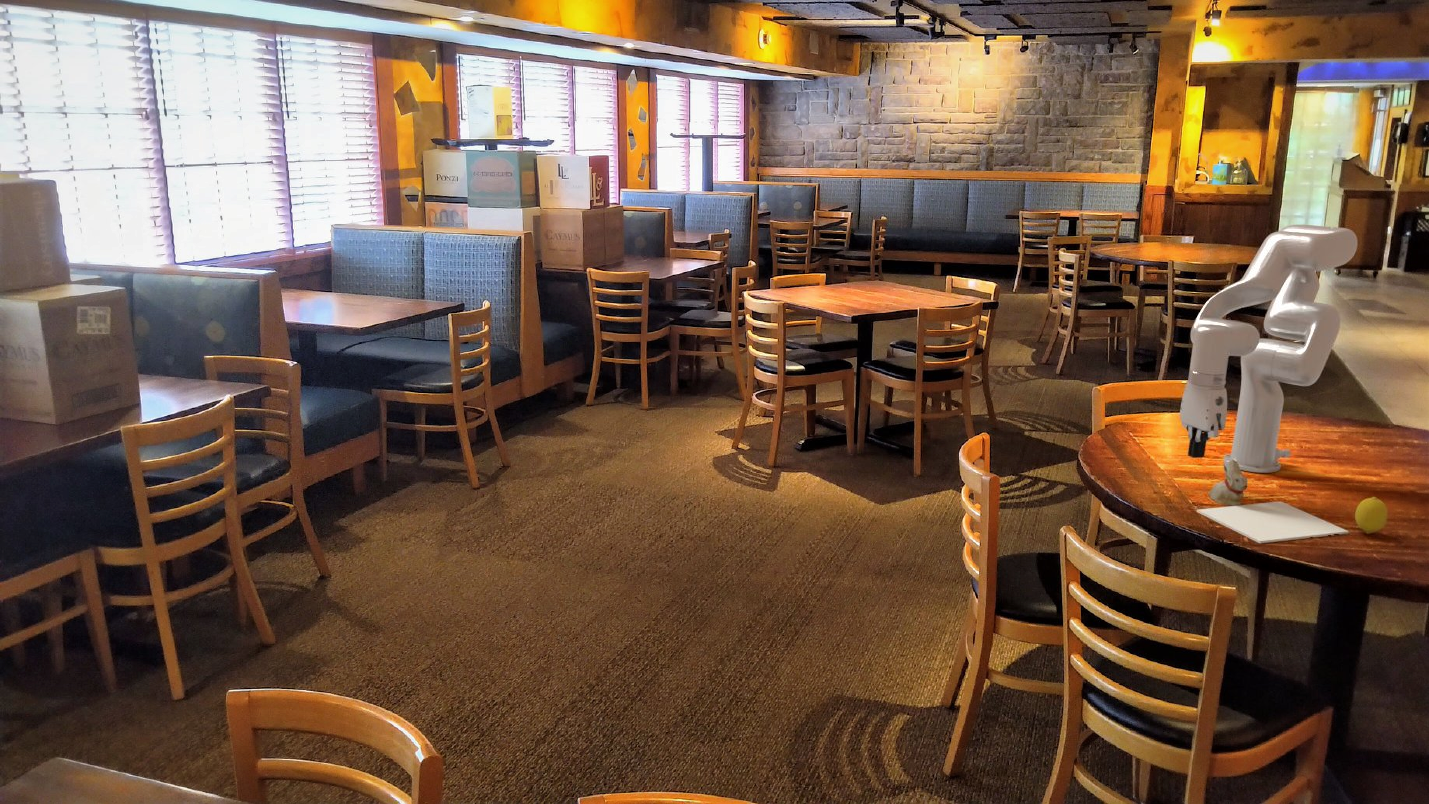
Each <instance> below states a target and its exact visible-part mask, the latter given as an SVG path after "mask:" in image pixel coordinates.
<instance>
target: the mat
mask: <svg viewBox="0 0 1429 804" xmlns="http://www.w3.org/2000/svg"><path fill="white" fill-rule="evenodd" d="M1196 513H1198V514H1200V515H1202V516H1205V517H1206V518H1208V519H1210V520H1212V521H1214V522H1216V523H1218V524H1220V525H1221V526H1224V527H1225V528H1228V529H1230V530H1232V531H1234V532H1236V533H1238V534H1240V535H1242V536H1244V537H1247V538H1248V539H1250V540H1252V541H1253V542H1256V543H1258V544H1266V543H1274V542H1275V543H1276V542H1284V541H1286V542H1287V541H1292V540H1302V539H1310V537H1313V538H1319V537H1329V536H1328V535H1331V536H1335V535H1334V534H1339V535H1347V534H1349V530H1347V529H1344V528H1342V527H1340V526H1337V525H1335V524H1333V523H1331V522H1329V521H1327V520H1324V519H1322V518H1319V517H1317V516H1315V515H1312V514H1310V513H1308V512H1305V511H1304V510H1302V509H1299V508H1297V507H1294V506H1292V505H1290V504H1287V503H1285V502H1283V501H1271V502H1261V503H1252V504H1241V505H1239V506H1222V507H1212V508H1211V507H1210V508H1203V509H1202V508H1201V509H1196Z"/></svg>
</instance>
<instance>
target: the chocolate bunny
mask: <svg viewBox="0 0 1429 804" xmlns="http://www.w3.org/2000/svg"><path fill="white" fill-rule="evenodd" d="M1223 471H1224V474H1225V479H1224V480H1223V481H1220V482H1217V483H1215V484H1214V485H1213V486H1212V488H1211V490H1210V491H1209V493H1208V496H1209V498H1210V500H1212V501H1214V502H1215V503H1218V504H1220V505H1222V506H1223V505H1225V506H1227V507H1229V506H1239V505H1242V502H1241V501H1242V500H1243V498H1244V491H1246V490H1247V488H1248V478H1247V477H1246V476H1245V474H1243V472H1242V470H1240V468H1239V465H1238V463H1237V462H1236V461H1235V460H1231V461H1230V462H1228V463H1224V464H1223Z"/></svg>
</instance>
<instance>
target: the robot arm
mask: <svg viewBox="0 0 1429 804" xmlns="http://www.w3.org/2000/svg"><path fill="white" fill-rule="evenodd" d="M1358 242H1359V241H1358V238H1357V234H1355V231H1353V230H1351V229H1349V228H1347V227H1345V228H1344V227H1336V226H1335V227H1333V226H1323V225H1313V224H1291V225H1287V226H1285V227H1282V228H1281V229H1280V230H1279V231H1275V232H1272V233H1270V234H1269V235H1268V236H1266V238H1264V240H1263V242H1262V244H1261V246H1260V247H1259V249H1258V250H1257V253H1256V254H1255V256H1254V257H1253V259H1252V261H1251V262H1250V265H1249V266H1248V268H1247V269H1246V271H1245V273H1244V275H1243V276H1242V278H1241V279H1240V280H1237V282H1234V283H1232V284H1230V285H1228V286H1226V287H1225V288H1223V289H1222V290H1220V291H1218V292H1217V293H1215V294H1214V295H1213V296H1212V297H1210V298H1209V299H1208V300H1207V301H1206V302H1205V303H1204V305H1203V307H1202V308H1201V309H1200V312H1198V314H1197V317H1196V318H1195V319H1194V322H1193V324H1192V326H1191V330H1190V341H1191V344H1192V349H1191V357H1190V363H1189V365H1190V366H1189V372H1188V377H1187V378H1188V380H1187V382H1186V384H1185V386H1184V391H1183V395H1182V398H1181V404H1180V408H1179V410H1180V411H1179V419H1180V421H1181V426H1182V427H1183V428H1185V429H1186V430H1187V438H1188V439H1189V445H1188V449H1187V450H1188V451H1187V456H1188V457H1191V458H1192V459H1193V458H1194V459H1197V458H1204V457H1205V454H1206V445H1207V442H1209V440H1210V439H1211V438H1212V439H1213V438H1219V434H1220V433H1219V431H1224V430H1225V428H1226V423H1227V416H1228V415H1227V412H1228V394H1227V388H1225V385H1226V384H1227V381H1226V378H1227V369H1228V363H1229V357H1230V356H1231V357H1232V356H1233V357H1240V367H1241V368H1240V369H1241V370H1240V371H1241V385H1240V394H1239V399H1238V400H1239V401H1238V407H1237V415H1236V420H1235V427H1234V435H1233V442H1232V447H1231V453H1228V454H1224V456H1223V463H1224V464H1225V463H1228V462H1230V461H1231V460H1235V461H1236V462H1237V463H1238V465H1239V468H1240V470H1241V471H1245V472H1249V473H1250V472H1251V473H1259V474H1261V473H1262V474H1268V473H1275V472H1276V473H1277V472H1279V471H1280V470H1281V466H1282V465H1281V462H1279V461H1278V460H1280V459H1281V458H1289V457H1291V455H1292V454H1291V453H1292V452H1291V450H1290V449H1289V448H1288V449H1279V448H1277V445H1278V439H1279V438H1278V437H1279V434H1280V433H1279V432H1280V427H1281V426H1280V425H1281V420H1282V419H1281V418H1282V414H1283V413H1282V412H1283V409H1284V402H1285V400H1284V399H1285V398H1284V392H1283V389H1282V388H1281V385H1280V383H1285V384H1289V385H1293V386H1298V387H1300V386H1301V387H1309V386H1312V385H1313V384H1315V383H1316V382H1317V381H1318V379H1319V378H1320V377H1321V374H1322V372H1323V370H1324V368H1325V366H1326V363H1327V361H1328V359H1329V356H1330V354H1331V351H1332V350H1333V347H1334V344H1335V342H1336V339H1337V337H1338V334H1339V332H1340V328H1341V314H1340V312H1339V310H1338V309H1337V307H1335V306H1334V305H1331V304H1327V303H1322V302H1316V301H1315V300H1316V297H1317V295H1318V293H1319V290H1320V280H1319V278H1318V274H1317V273H1316V272H1323V271H1328V270H1331V269H1335V268H1337V267H1341V266H1344V265H1345V264H1347V263H1349V262H1350V261H1351V260H1352V259H1353V257H1354V256H1355V253H1356V252H1357V249H1358ZM1270 301H1271V302H1270ZM1267 302H1270V305H1269V306H1268V308H1267V311H1266V313H1265V316H1264V317H1265V318H1264V319H1263V320H1264V321H1263V329H1264V331H1265V332H1266V333H1268V334H1269V335H1270V336H1274V337H1276V338H1282V339H1284V340H1277V339H1274V338H1273V339H1272V338H1260V337H1261V335H1260V332H1259V330H1258V329H1257V328H1256V327H1255V326H1254V325H1252V324H1249V323H1247V322H1246V323H1245V322H1240V321H1235V320H1230V319H1229V320H1228V319H1224V317H1225V316H1226V315H1227V314H1230V313H1231V312H1234V311H1236V310H1239V309H1241V308H1247V307H1251V306H1256V305H1259V304H1263V303H1264V304H1265V303H1267ZM1285 339H1286V340H1292V341H1296V342H1297V341H1299V342H1303V343H1304V344H1300V343H1294V342H1288V341H1285Z"/></svg>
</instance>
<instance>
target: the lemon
mask: <svg viewBox="0 0 1429 804" xmlns="http://www.w3.org/2000/svg"><path fill="white" fill-rule="evenodd" d="M1354 518H1355V519H1354V520H1355V522H1356V525H1357V526H1358V527H1359V529H1361V530H1363V531H1364V533H1365V534H1368V535H1369V534H1372V533H1374V532H1378V531H1380V530H1381V529H1383V528H1384V527H1385V525H1386V523H1387V520H1388V508H1387V506H1386V504H1385V503H1384V502H1383V501H1382V500H1381V499H1379V498H1377V497H1376V496H1372V497H1368V498H1365V499H1363V500H1362V501H1360V502H1359V504H1358V505H1357V507H1356V509H1355V513H1354Z"/></svg>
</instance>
